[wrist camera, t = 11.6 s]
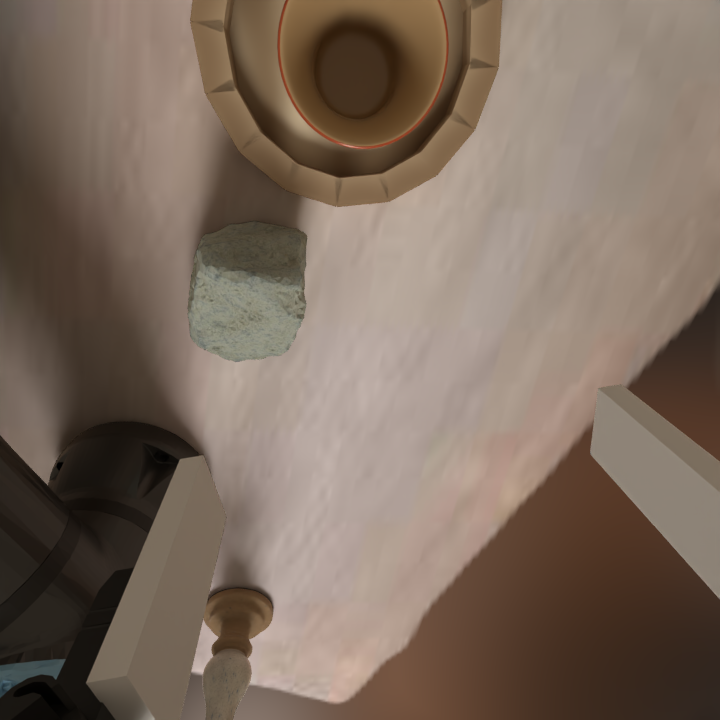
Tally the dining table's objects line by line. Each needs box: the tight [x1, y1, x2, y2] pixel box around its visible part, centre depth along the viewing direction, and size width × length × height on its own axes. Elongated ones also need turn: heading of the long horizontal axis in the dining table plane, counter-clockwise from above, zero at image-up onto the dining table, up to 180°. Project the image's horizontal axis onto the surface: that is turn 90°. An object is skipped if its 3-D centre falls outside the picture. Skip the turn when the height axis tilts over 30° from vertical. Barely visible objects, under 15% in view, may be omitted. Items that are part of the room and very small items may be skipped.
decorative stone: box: [188, 221, 307, 362], centre depth 36 cm, size 13×11×10 cm
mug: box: [277, 0, 449, 149], centre depth 26 cm, size 12×9×10 cm
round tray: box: [190, 0, 502, 207], centre depth 30 cm, size 20×20×3 cm
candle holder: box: [202, 588, 273, 720], centre depth 49 cm, size 9×9×20 cm
